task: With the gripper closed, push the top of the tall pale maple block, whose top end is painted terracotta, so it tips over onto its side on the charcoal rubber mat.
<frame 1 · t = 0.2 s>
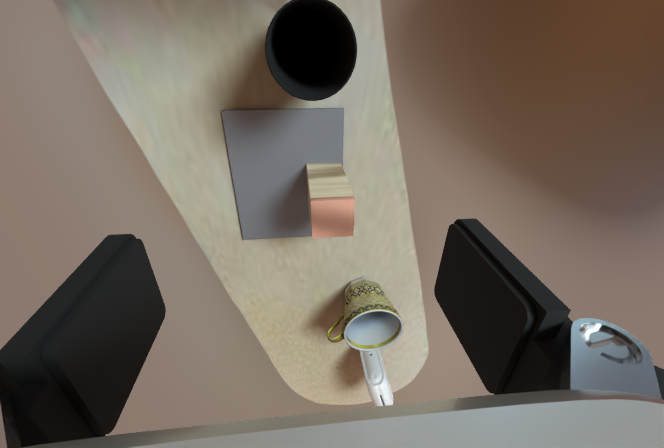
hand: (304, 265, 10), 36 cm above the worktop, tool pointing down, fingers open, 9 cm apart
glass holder: (303, 19, 37), on the worktop
maple block: (323, 179, 47), point 1 cm above the worktop, touching rubber mat
rubber mat: (288, 178, 47), on the worktop
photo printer: (369, 347, 70), on the worktop
ceramic cup: (354, 291, 61), on the worktop
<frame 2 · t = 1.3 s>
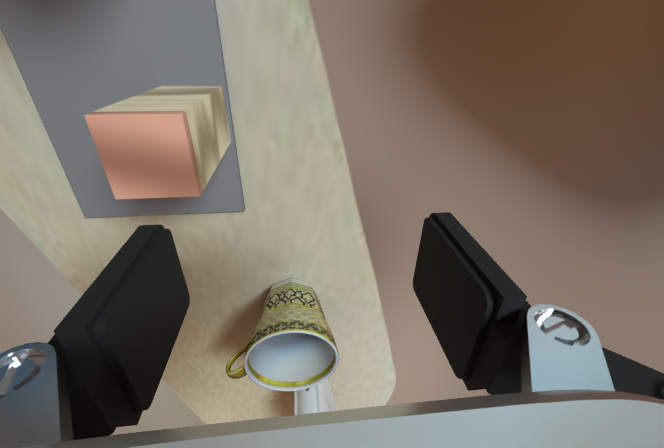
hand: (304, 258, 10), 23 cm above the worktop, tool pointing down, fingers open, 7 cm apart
maple block: (198, 115, 29), point 1 cm above the worktop, touching rubber mat
rubber mat: (140, 114, 29), on the worktop
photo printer: (313, 375, 51), on the worktop
ceramic cup: (281, 299, 42), on the worktop
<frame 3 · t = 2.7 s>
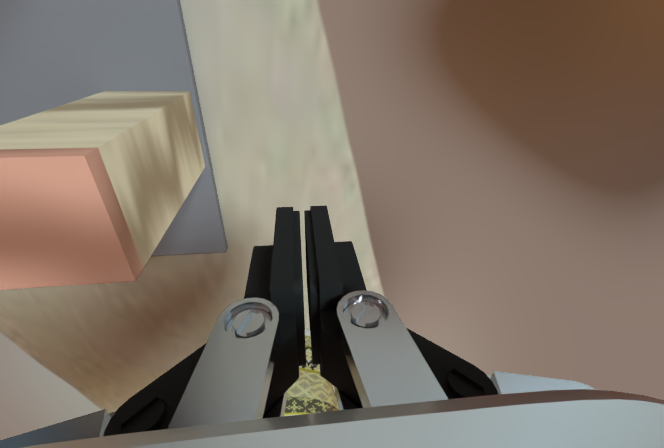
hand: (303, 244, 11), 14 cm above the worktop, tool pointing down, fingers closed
maple block: (158, 131, 21), point 1 cm above the worktop, touching rubber mat
rubber mat: (78, 130, 21), on the worktop
ceramic cup: (276, 348, 35), on the worktop
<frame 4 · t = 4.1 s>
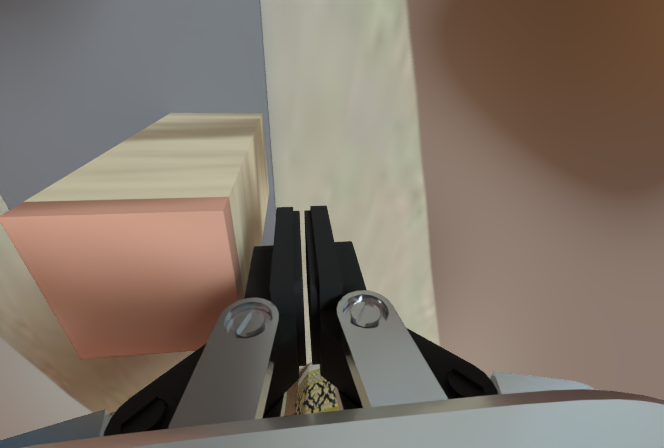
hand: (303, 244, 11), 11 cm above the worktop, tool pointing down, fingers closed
maple block: (223, 156, 19), point 1 cm above the worktop, touching rubber mat
rubber mat: (136, 153, 19), on the worktop
ceramic cup: (318, 379, 32), on the worktop
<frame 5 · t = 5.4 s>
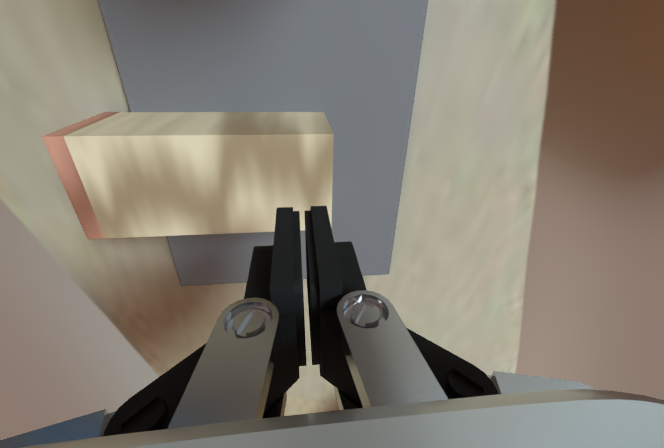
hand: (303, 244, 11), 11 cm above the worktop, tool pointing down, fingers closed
maple block: (327, 167, 18), point 3 cm above the worktop, tilted 90°, touching rubber mat
rubber mat: (280, 151, 20), on the worktop
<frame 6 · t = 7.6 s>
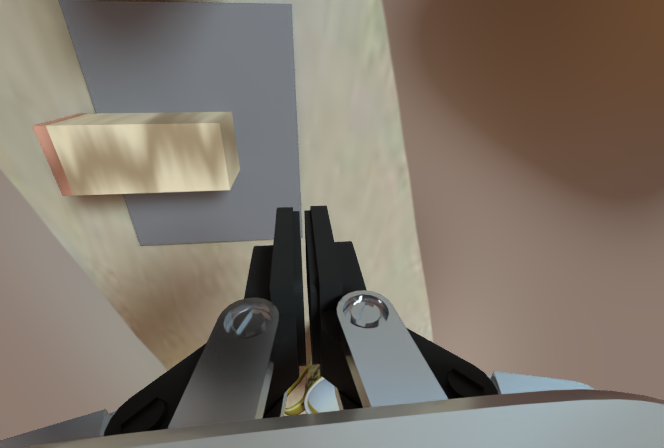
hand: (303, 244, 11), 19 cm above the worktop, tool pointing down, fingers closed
maple block: (231, 149, 25), point 3 cm above the worktop, tilted 90°, touching rubber mat
rubber mat: (206, 140, 28), on the worktop
ceramic cup: (330, 327, 40), on the worktop
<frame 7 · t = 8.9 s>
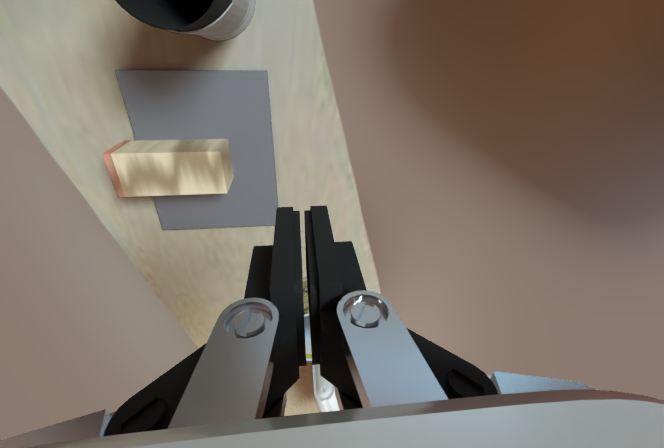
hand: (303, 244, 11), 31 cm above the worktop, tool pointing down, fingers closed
maple block: (227, 165, 38), point 3 cm above the worktop, tilted 90°, touching rubber mat
rubber mat: (210, 157, 40), on the worktop
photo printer: (326, 355, 62), on the worktop
ceramic cup: (303, 292, 53), on the worktop
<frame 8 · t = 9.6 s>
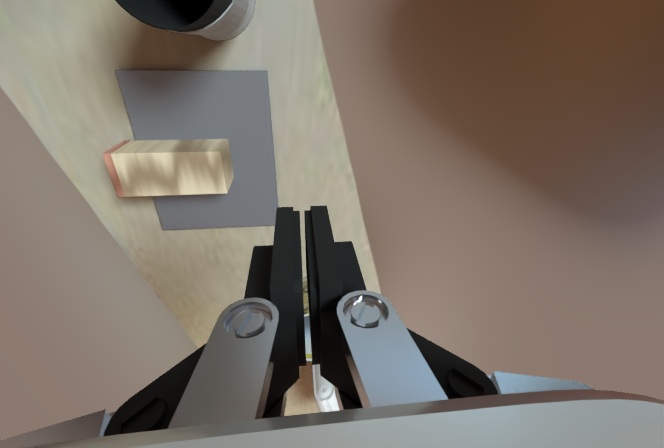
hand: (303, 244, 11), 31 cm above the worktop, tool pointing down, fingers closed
maple block: (227, 165, 38), point 3 cm above the worktop, tilted 90°, touching rubber mat
rubber mat: (210, 157, 40), on the worktop
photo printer: (326, 355, 62), on the worktop
ceramic cup: (303, 292, 53), on the worktop
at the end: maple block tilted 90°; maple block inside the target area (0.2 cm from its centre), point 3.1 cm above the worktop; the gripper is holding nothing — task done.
